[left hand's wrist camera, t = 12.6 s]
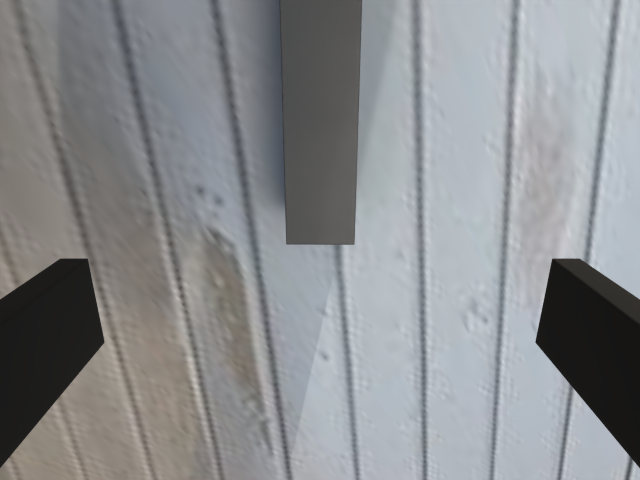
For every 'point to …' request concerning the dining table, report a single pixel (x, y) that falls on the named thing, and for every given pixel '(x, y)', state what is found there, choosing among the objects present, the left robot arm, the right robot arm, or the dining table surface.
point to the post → (320, 118)
